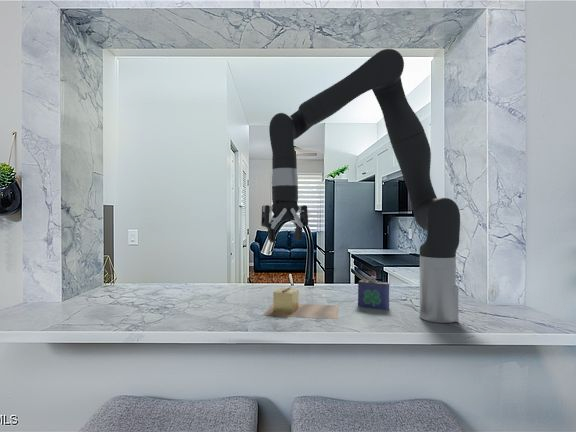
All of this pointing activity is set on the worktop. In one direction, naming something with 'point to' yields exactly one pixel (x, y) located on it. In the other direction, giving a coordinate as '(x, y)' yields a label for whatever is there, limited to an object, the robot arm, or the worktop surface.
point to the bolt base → (309, 311)
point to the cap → (285, 300)
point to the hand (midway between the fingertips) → (285, 241)
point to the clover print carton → (373, 294)
